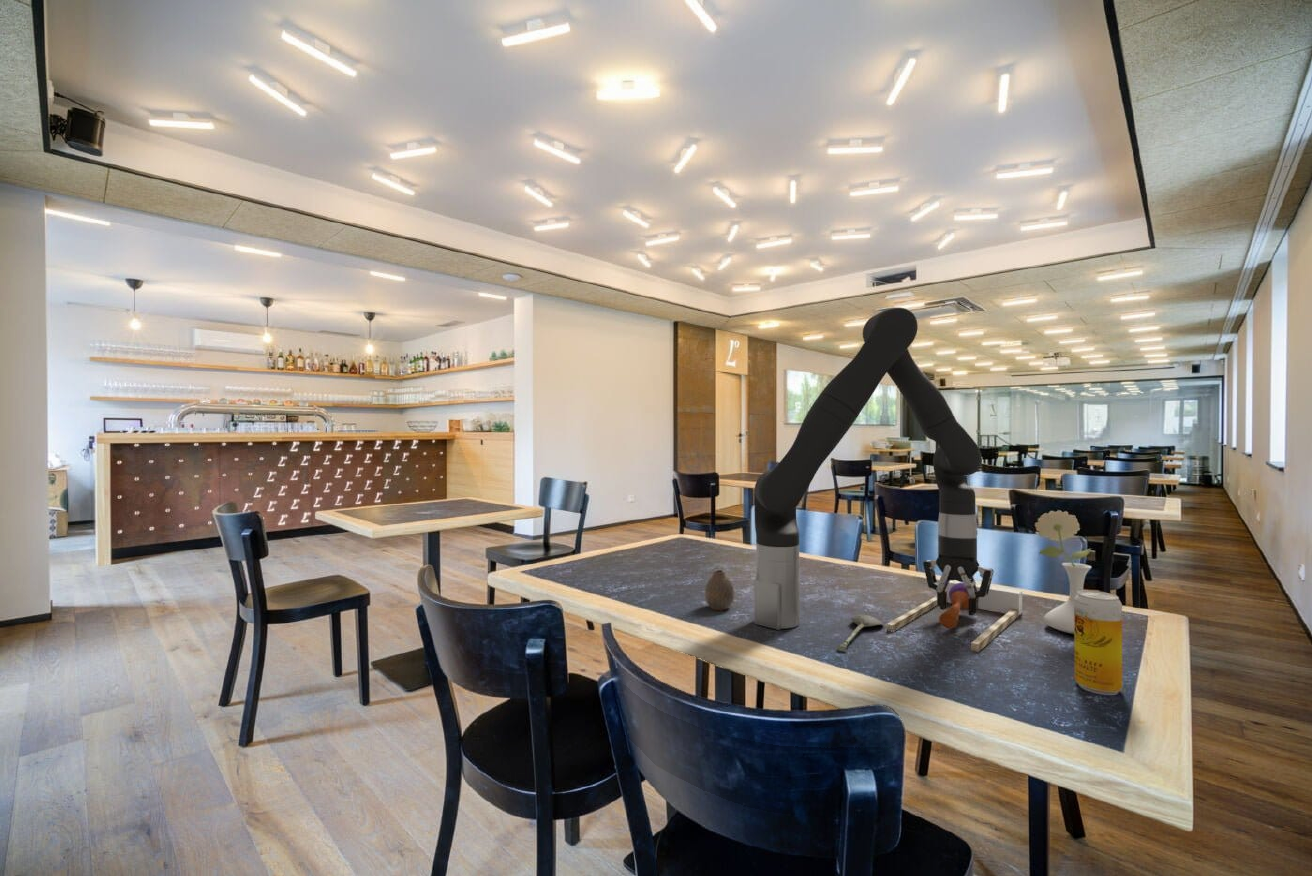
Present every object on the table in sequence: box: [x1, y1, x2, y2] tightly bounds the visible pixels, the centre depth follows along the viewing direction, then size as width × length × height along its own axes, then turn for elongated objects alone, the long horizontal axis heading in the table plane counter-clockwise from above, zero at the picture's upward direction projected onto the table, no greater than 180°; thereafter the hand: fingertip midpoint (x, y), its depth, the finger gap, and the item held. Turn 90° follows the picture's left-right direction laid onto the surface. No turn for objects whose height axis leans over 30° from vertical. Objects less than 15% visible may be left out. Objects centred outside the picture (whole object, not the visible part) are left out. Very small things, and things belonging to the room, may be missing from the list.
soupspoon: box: [836, 614, 884, 653], centre depth 118 cm, size 22×3×7 cm
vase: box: [704, 569, 735, 611], centre depth 137 cm, size 7×7×9 cm
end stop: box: [937, 580, 1023, 616], centre depth 137 cm, size 3×17×5 cm, turn 46°
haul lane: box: [886, 595, 1020, 653], centre depth 125 cm, size 31×17×2 cm, turn 136°
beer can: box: [1073, 590, 1123, 696], centre depth 92 cm, size 6×6×15 cm
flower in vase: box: [1034, 509, 1092, 635], centre depth 120 cm, size 13×11×25 cm
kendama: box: [938, 582, 979, 630], centre depth 125 cm, size 6×6×20 cm
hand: (957, 611), depth 125 cm, fingers closed on kendama, 5 cm apart
